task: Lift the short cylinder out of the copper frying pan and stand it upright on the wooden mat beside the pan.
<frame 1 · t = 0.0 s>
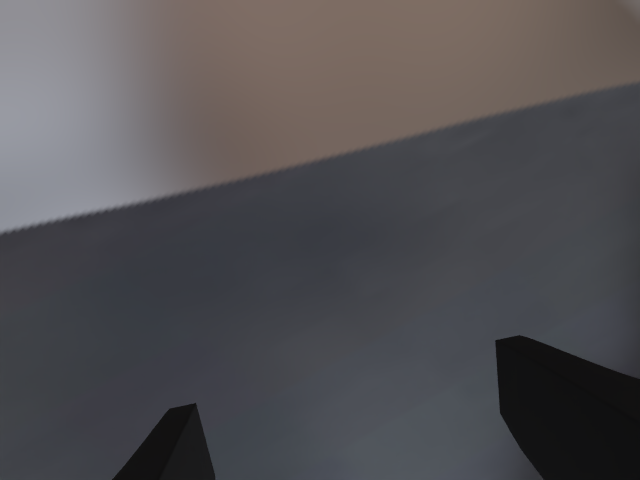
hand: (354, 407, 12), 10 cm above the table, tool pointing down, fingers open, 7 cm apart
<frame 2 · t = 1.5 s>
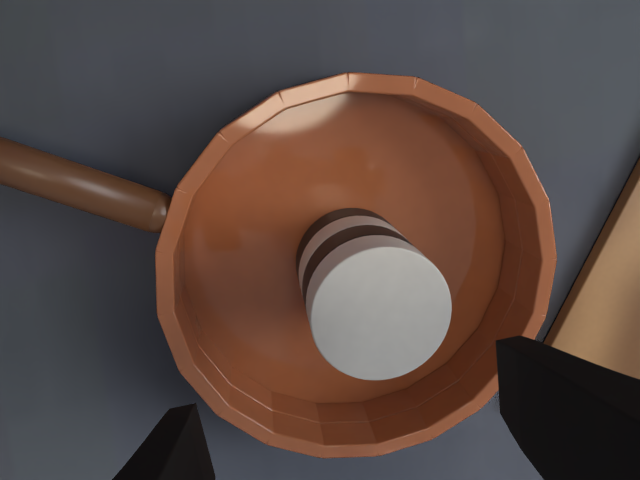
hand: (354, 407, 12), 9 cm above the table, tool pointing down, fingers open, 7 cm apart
pan: (348, 258, 21), on the table
cylinder: (349, 260, 21), resting on pan
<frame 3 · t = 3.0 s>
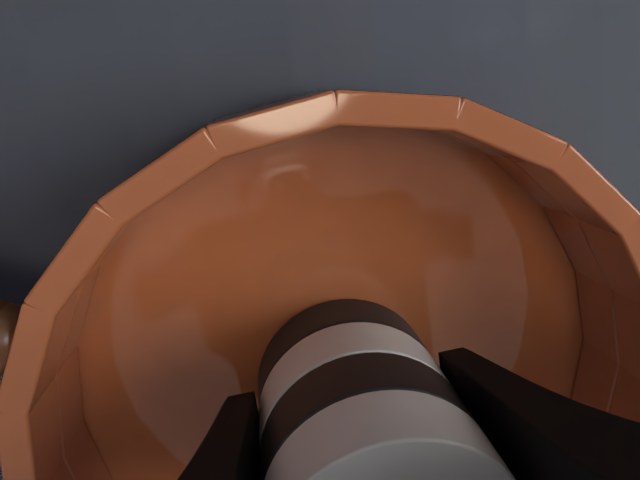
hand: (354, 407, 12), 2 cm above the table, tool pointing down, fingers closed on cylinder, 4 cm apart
pan: (342, 370, 14), on the table
cylinder: (343, 376, 13), resting on pan, touching gripper
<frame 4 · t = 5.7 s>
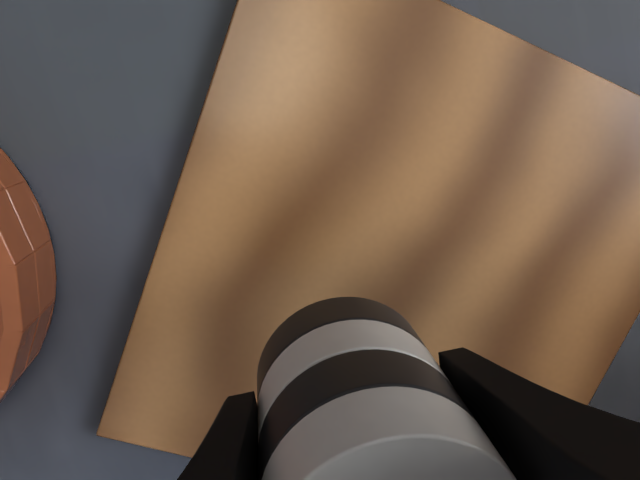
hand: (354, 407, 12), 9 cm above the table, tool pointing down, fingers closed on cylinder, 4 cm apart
wooden mat: (411, 282, 21), on the table
cylinder: (342, 374, 13), point 8 cm above the table, touching gripper
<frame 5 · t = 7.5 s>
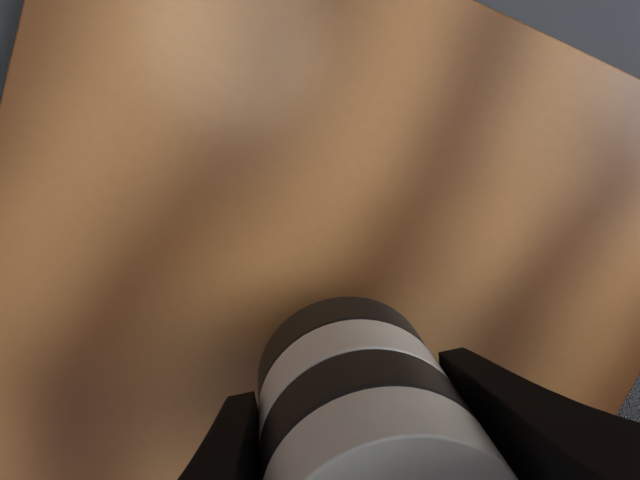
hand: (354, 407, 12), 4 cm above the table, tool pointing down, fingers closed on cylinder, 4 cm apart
wooden mat: (331, 337, 16), on the table
cylinder: (342, 374, 13), point 2 cm above the table, touching gripper
when the fingers open (2 cm above the table, at t = 8.6 s): cylinder stays where it is, resting on wooden mat.
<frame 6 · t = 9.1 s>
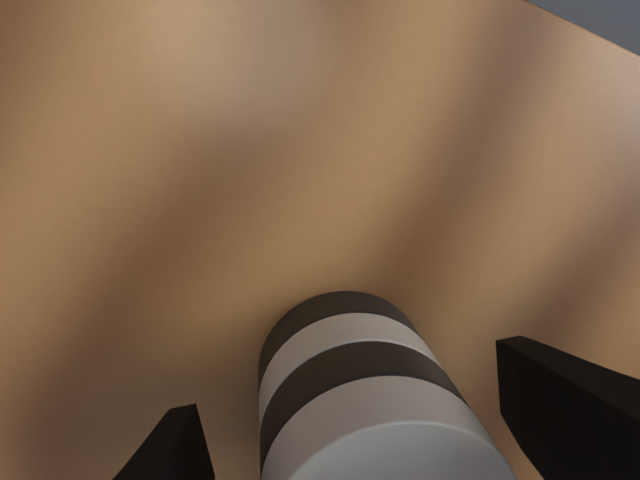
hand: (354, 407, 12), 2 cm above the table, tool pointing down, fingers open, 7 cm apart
wooden mat: (339, 358, 14), on the table
cylinder: (341, 367, 14), point 1 cm above the table, touching wooden mat
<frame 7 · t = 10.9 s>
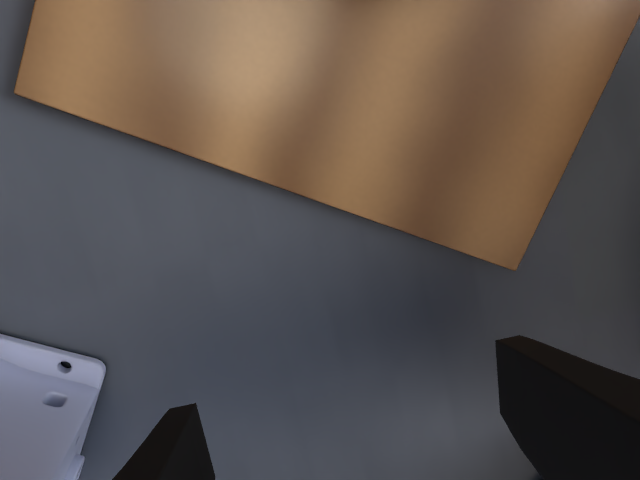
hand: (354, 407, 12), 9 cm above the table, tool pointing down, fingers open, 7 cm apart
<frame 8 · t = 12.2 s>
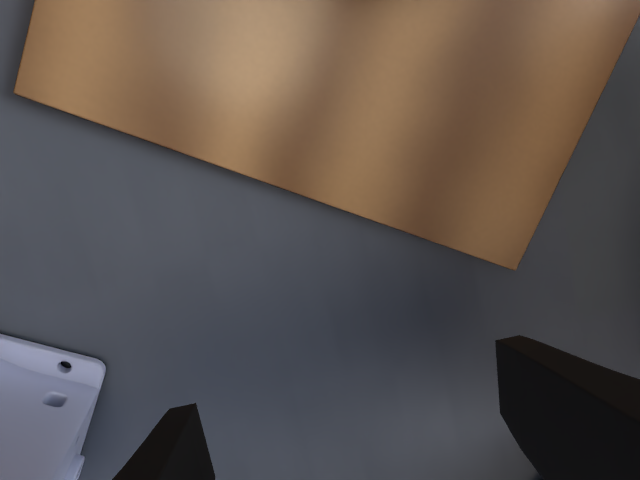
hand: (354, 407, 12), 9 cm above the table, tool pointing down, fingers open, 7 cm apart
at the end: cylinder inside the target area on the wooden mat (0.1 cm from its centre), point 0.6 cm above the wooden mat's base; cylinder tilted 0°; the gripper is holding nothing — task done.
